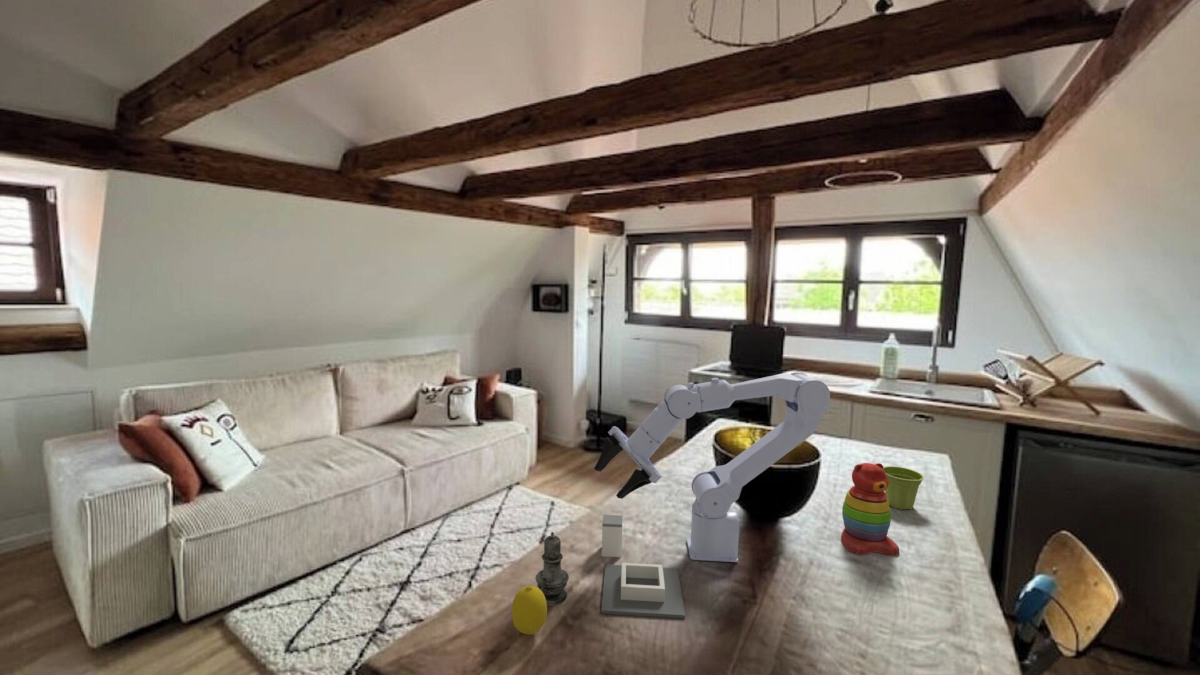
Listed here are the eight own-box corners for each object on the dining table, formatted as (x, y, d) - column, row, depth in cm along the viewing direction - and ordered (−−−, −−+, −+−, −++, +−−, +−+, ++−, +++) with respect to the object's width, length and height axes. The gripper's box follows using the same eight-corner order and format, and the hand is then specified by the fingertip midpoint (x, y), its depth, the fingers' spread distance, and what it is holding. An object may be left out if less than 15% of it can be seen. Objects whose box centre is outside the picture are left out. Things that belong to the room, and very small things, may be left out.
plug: (621, 547, 107) (622, 515, 106) (621, 557, 103) (622, 524, 102) (602, 546, 107) (603, 514, 106) (601, 556, 103) (602, 523, 102)
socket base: (677, 571, 98) (678, 556, 98) (684, 618, 84) (685, 601, 84) (605, 567, 99) (605, 552, 99) (601, 613, 85) (601, 596, 85)
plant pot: (921, 503, 132) (923, 471, 131) (920, 517, 124) (924, 482, 123) (880, 494, 136) (882, 463, 136) (877, 507, 129) (880, 474, 128)
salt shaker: (563, 608, 86) (564, 541, 85) (530, 603, 87) (530, 537, 86) (572, 588, 92) (573, 525, 91) (541, 584, 93) (541, 522, 92)
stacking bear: (852, 555, 105) (858, 472, 103) (829, 531, 115) (834, 456, 113) (903, 555, 105) (910, 473, 104) (876, 532, 115) (882, 456, 114)
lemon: (513, 623, 82) (513, 576, 81) (547, 621, 83) (547, 575, 82) (510, 647, 77) (510, 597, 76) (546, 645, 77) (546, 596, 76)
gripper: (620, 407, 104) (578, 455, 105) (667, 456, 95) (620, 508, 97) (635, 414, 110) (595, 460, 111) (680, 461, 101) (636, 510, 102)
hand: (607, 483), depth 104 cm, fingers open, 7 cm apart
